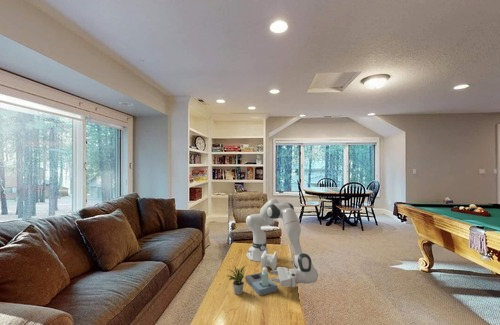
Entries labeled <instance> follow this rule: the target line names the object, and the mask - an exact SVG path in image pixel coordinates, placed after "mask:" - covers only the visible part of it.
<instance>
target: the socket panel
mask: <svg viewBox="0 0 500 325" xmlns="http://www.w3.org/2000/svg"><path fill="white" fill-rule="evenodd" d="M262 272H263V271H261V272H256V273H252V274H248V275H244V280H245V282H246V283H247V284H248V285H249V287H251V288H252V290H253V291H254V292H255V293H256V294H257V295H258V296H263V295H268V294H270V293H271V294H272V293H275V292H278V285H277V284H276V283H275V281H272V279H270V278H269V277H268V287H264V288H263V287H262Z"/></svg>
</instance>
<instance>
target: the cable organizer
mask: <svg viewBox="0 0 500 325" xmlns="http://www.w3.org/2000/svg"><path fill="white" fill-rule="evenodd" d="M277 252H278V251H275V250H274V253H273V254H270V253H268V254H267V251H264V252H263V254H262V256H261V261H260V270H262V271H263V268H264V267H266V268H267V269H268V267H269V269H271V271H274V270H276V268H277V264H278V263H277V262H278V253H277Z"/></svg>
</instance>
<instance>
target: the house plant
mask: <svg viewBox="0 0 500 325" xmlns="http://www.w3.org/2000/svg"><path fill="white" fill-rule="evenodd" d="M233 267H234V271H233V270H232V269H229V268H227V270H228V271H230V273H231V275H229V274H228V275H226V277H228V281H232V280H233V282H232V286H233V292H234V295H237V296H240V295H242V294H243V290H244V281H243V280H245V272H246V270H247V269H246V268H245V267H246V265H243V267H241V268H240V267H239V268H238V267H236V266H235V265H233ZM245 269H246V270H245Z"/></svg>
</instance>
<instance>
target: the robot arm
mask: <svg viewBox="0 0 500 325" xmlns="http://www.w3.org/2000/svg"><path fill="white" fill-rule="evenodd" d="M276 219H281V220H282V222H283V226H284V229H285V231H286V234H287V237H288V239H289V242H290V246H291V249H292V253H293V266H294V267H295V268H288V267H284V266H278V267H277V266H276V269H275V270H274V271H272V270H270V275H277V277H271V281H272V282H274V283H275V282H276V283H279V286H281V287H285V288H286V287H288V288H290V287H291V288H296V286H297V284H305V285H306V284H314V283H316V282H317V281H318V273H319V272H318V270H317V269H316V268H315V266H314V264H313V262H312V261H313V260H312V258H311V256H310V255H309V254H307V253H304V252H303V249H302V246H301V243H300V237H301V233H302V227H301V223H300V220H299V217H298V215H297V213H296V212H295V207H294V205H293V204H292V203H290V202H280V201H279V200H278V199H276V198H270V199H269V200H267V202H265V203H264V204H263V205H262V207H261V208H260V210H259V213H251V214H250V215H247V216H246V218H245V224H246V225H247V226H246V227H248V228H250V229H251V231H252V238H253V239H252V243H251V245H250V247H249V248H248V250H247V253H246V254H245V255H246V256H247V258H248V260H249V261H254V262H261V256H262V254H263V252H264V251H267V254H269V250H268V247H267V244H268V243H267V233H266V232H265V231H264V230H262V228H261V227H266V226H269V225H271V224H273V222H274V220H276Z"/></svg>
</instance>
